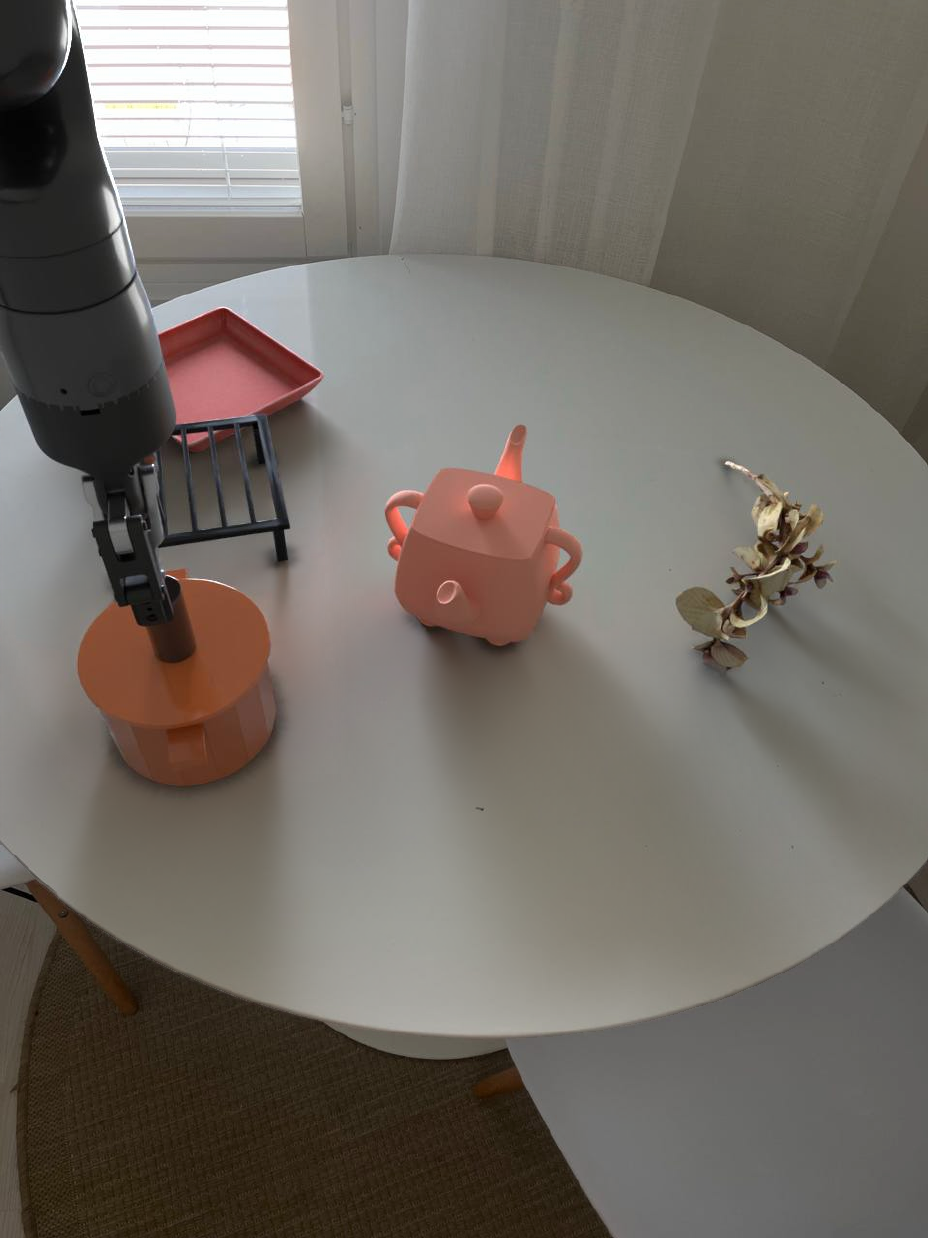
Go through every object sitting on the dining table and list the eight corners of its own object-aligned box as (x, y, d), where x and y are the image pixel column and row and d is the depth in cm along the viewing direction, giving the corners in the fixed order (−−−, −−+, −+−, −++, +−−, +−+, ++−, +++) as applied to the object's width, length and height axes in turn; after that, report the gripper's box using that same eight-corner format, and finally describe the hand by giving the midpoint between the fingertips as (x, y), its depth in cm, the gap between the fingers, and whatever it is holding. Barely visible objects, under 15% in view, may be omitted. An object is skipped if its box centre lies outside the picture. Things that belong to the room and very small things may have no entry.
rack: (112, 591, 80) (98, 552, 76) (108, 474, 90) (95, 433, 86) (294, 563, 83) (289, 524, 79) (271, 453, 93) (265, 413, 89)
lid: (81, 751, 60) (50, 689, 55) (80, 603, 69) (53, 536, 63) (283, 713, 63) (272, 650, 58) (259, 575, 71) (248, 509, 66)
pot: (118, 834, 65) (87, 773, 59) (112, 645, 76) (85, 576, 70) (291, 798, 68) (280, 736, 61) (261, 620, 79) (248, 551, 72)
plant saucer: (329, 398, 99) (327, 372, 97) (192, 472, 90) (186, 446, 88) (228, 329, 107) (223, 303, 104) (91, 391, 98) (83, 365, 95)
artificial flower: (793, 498, 97) (826, 712, 76) (664, 467, 97) (662, 674, 76) (833, 423, 90) (882, 637, 70) (695, 391, 90) (702, 595, 70)
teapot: (511, 520, 88) (524, 414, 79) (594, 644, 79) (621, 540, 69) (366, 561, 84) (361, 454, 74) (436, 697, 74) (440, 594, 65)
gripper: (13, 291, 50) (91, 507, 63) (1, 454, 42) (94, 667, 54) (153, 278, 52) (202, 491, 64) (169, 433, 43) (222, 645, 55)
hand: (152, 571), depth 59 cm, fingers open, 8 cm apart
